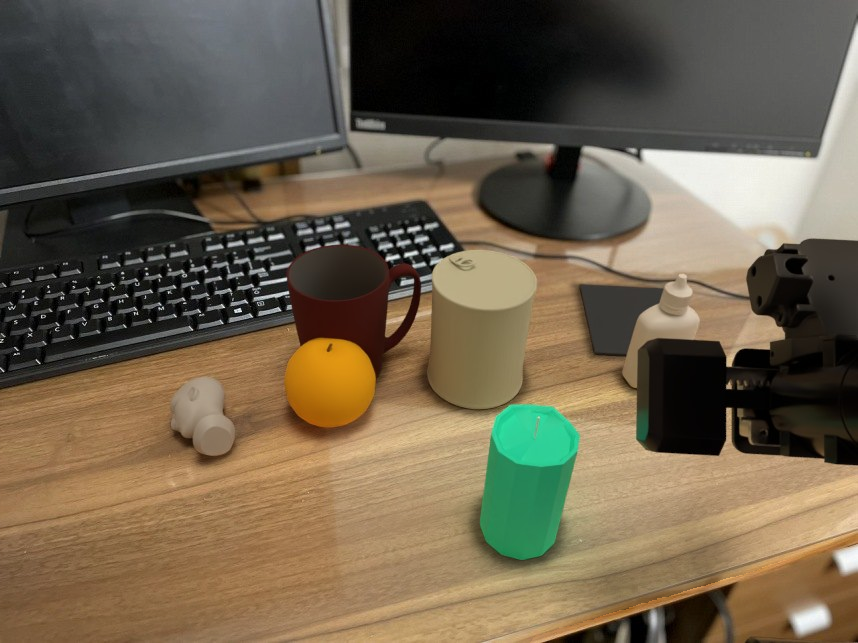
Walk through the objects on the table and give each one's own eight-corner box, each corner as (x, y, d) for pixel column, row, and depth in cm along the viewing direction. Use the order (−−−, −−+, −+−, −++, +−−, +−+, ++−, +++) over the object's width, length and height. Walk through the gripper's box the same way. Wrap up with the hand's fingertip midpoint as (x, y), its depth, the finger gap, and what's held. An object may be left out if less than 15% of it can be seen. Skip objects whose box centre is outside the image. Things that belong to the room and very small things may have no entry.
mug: (405, 324, 70) (406, 234, 64) (432, 380, 64) (436, 285, 57) (290, 345, 67) (279, 252, 60) (307, 406, 61) (296, 309, 54)
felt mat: (693, 359, 68) (694, 357, 67) (594, 354, 68) (595, 352, 68) (666, 290, 77) (667, 288, 77) (579, 286, 77) (579, 284, 77)
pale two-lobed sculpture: (179, 415, 61) (230, 388, 62) (191, 479, 55) (247, 449, 56) (153, 385, 58) (208, 358, 59) (163, 450, 52) (223, 419, 53)
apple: (270, 406, 61) (260, 343, 56) (339, 367, 65) (335, 305, 61) (324, 456, 56) (317, 392, 52) (394, 411, 61) (394, 348, 56)
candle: (562, 561, 49) (591, 453, 42) (481, 558, 49) (496, 451, 42) (551, 494, 54) (576, 387, 47) (477, 492, 54) (490, 384, 47)
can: (474, 333, 70) (483, 233, 62) (542, 378, 65) (560, 276, 57) (407, 372, 65) (408, 269, 57) (475, 425, 60) (486, 319, 52)
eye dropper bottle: (621, 357, 67) (649, 257, 60) (679, 368, 67) (714, 267, 59) (620, 387, 64) (649, 284, 57) (681, 398, 63) (719, 295, 56)
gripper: (1107, 236, 30) (880, 291, 46) (693, 216, 31) (607, 278, 46) (1123, 487, 29) (884, 457, 45) (691, 463, 29) (603, 441, 45)
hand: (743, 402), depth 45 cm, fingers closed
